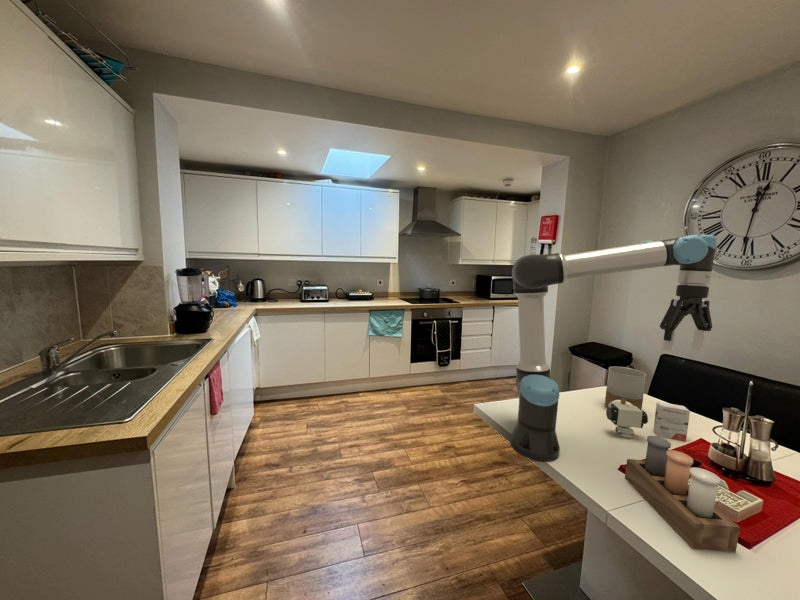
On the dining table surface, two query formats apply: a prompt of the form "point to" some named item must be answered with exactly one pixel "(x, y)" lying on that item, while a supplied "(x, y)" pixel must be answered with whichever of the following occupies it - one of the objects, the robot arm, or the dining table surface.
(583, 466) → the dining table surface
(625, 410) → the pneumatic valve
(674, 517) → the socket block
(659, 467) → the plug charcoal
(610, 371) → the planter
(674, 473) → the plug terracotta
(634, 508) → the dining table surface
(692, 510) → the plug white
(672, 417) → the ink box
